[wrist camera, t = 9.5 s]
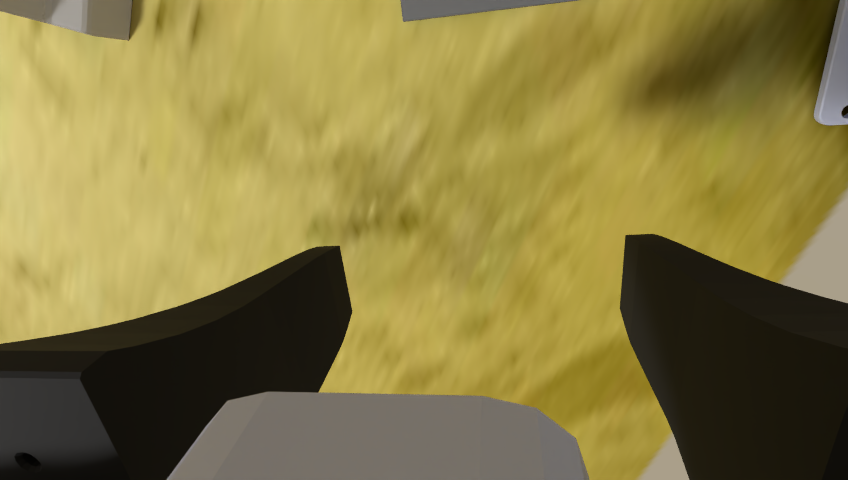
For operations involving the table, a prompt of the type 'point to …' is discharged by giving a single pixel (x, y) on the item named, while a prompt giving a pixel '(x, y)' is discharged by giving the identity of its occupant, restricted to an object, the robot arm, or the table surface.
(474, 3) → the mat
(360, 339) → the table surface
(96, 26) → the hinge
